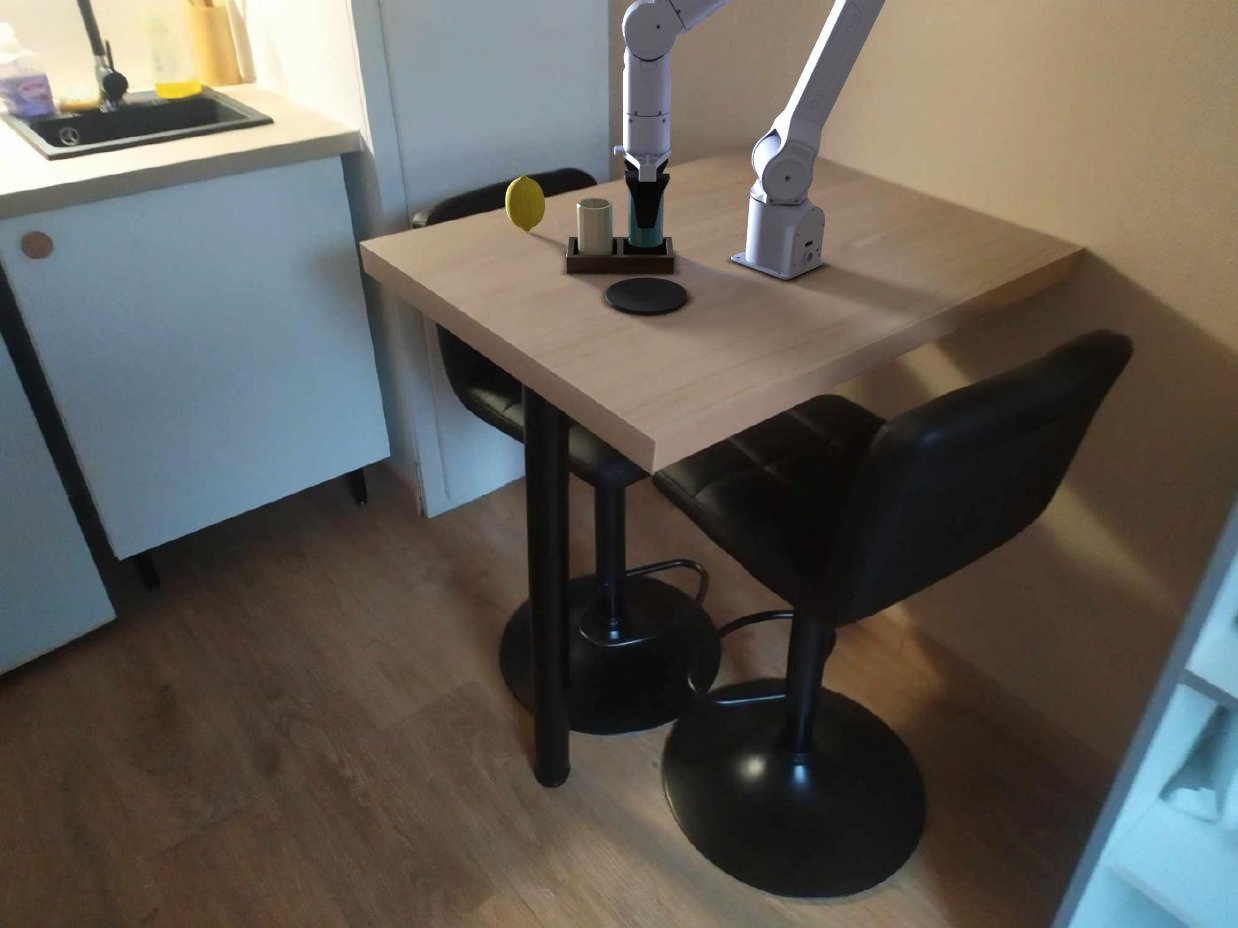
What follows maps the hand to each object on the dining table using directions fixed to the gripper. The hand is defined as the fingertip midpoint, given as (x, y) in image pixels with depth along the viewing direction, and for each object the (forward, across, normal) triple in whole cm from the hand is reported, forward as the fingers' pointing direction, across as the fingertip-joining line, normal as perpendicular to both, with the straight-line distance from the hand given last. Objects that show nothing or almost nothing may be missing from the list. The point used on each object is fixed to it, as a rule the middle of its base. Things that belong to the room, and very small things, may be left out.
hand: (645, 220), depth 119 cm
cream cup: (+6, 0, -7) cm, 9 cm away
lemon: (+6, -11, -17) cm, 21 cm away
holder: (+6, 0, -3) cm, 7 cm away
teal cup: (+3, 0, 0) cm, 3 cm away
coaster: (+6, +11, 0) cm, 12 cm away
